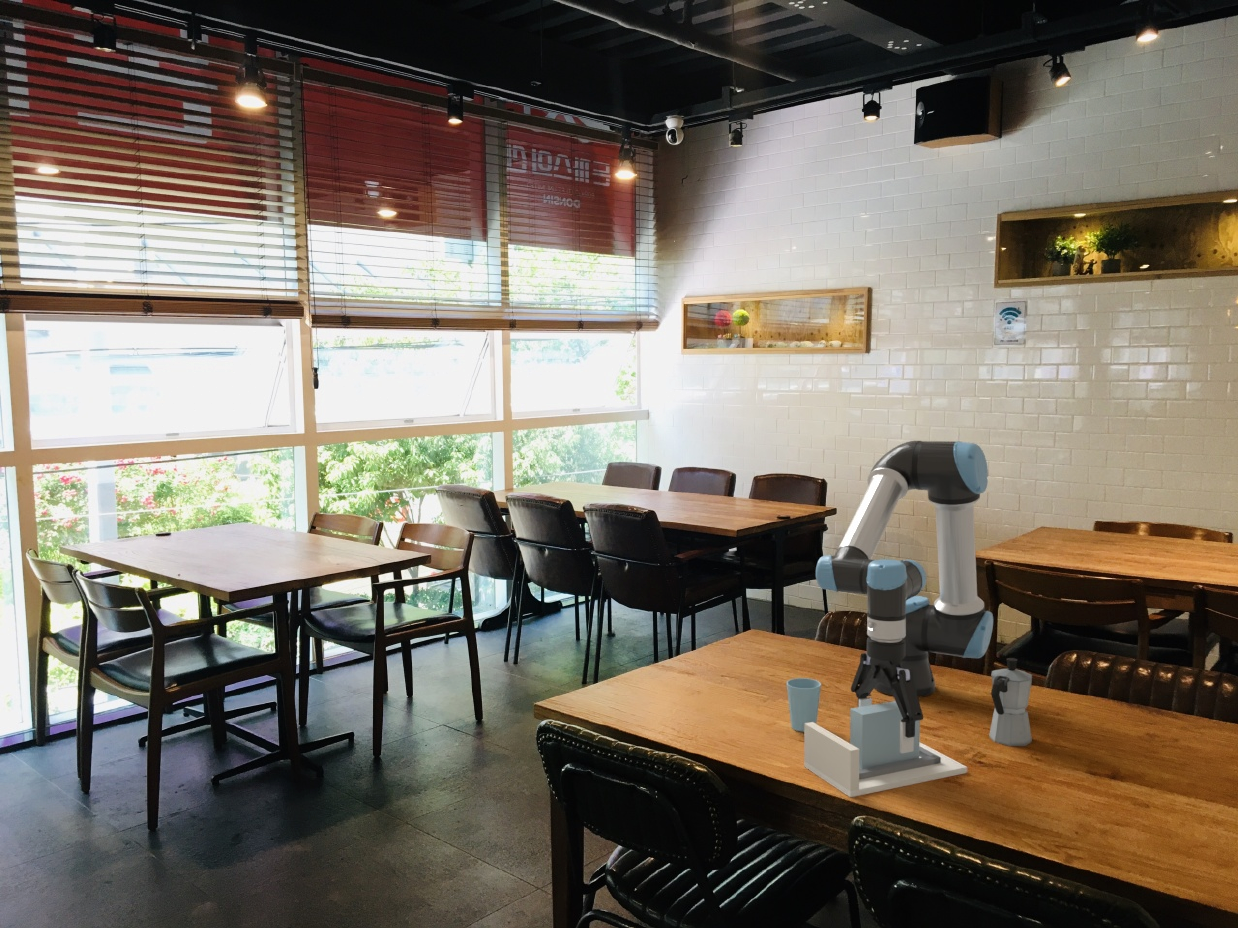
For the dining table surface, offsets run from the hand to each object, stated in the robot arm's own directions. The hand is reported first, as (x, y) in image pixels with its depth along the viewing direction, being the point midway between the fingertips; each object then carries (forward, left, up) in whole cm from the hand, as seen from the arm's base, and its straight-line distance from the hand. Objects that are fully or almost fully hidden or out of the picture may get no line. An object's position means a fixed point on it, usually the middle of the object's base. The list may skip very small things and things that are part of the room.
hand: (885, 740), depth 202 cm
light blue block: (0, 0, -5) cm, 5 cm away
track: (0, 0, -6) cm, 6 cm away
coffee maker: (-34, -2, -6) cm, 35 cm away
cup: (+2, -27, -6) cm, 28 cm away
